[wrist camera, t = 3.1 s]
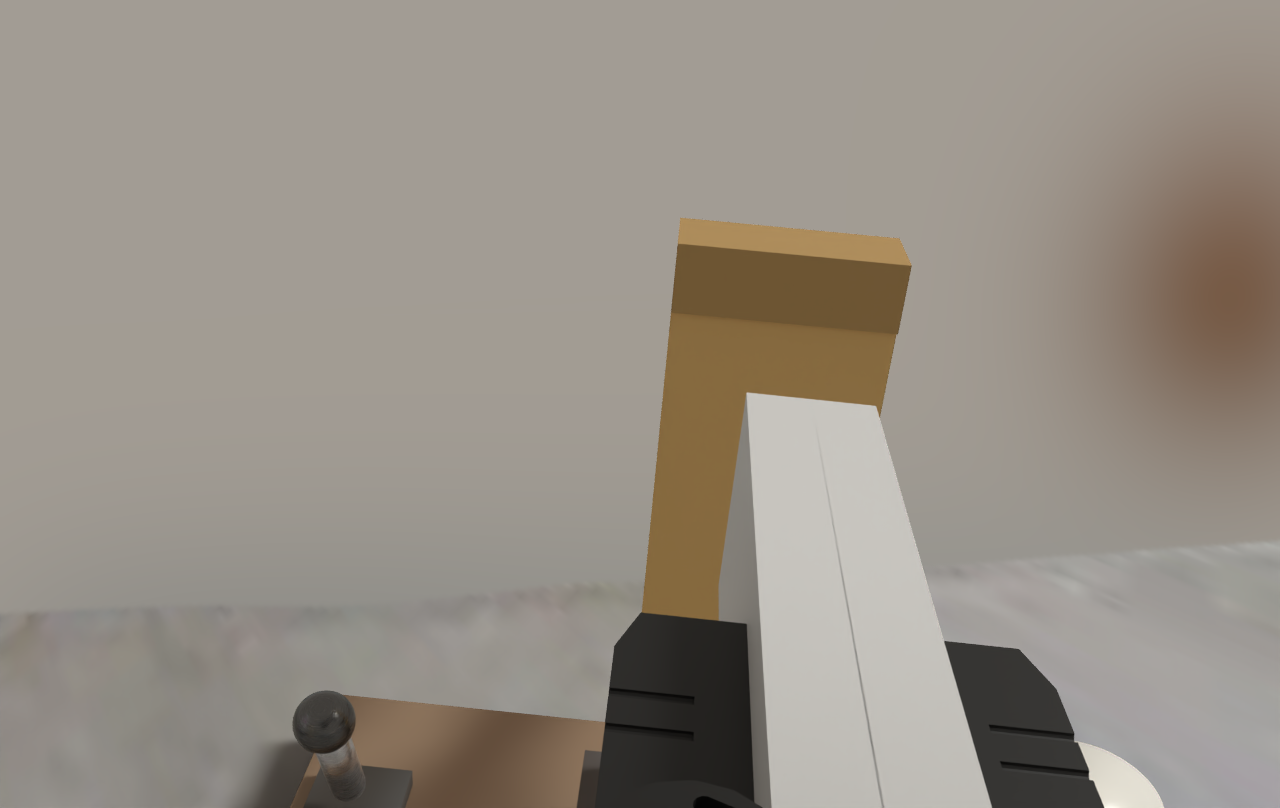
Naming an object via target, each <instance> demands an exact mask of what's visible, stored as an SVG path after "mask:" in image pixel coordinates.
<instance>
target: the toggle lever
mask: <svg viewBox="0 0 1280 808" xmlns="http://www.w3.org/2000/svg"><path fill="white" fill-rule="evenodd" d="M355 725H356V715H355V710H354V708H353V706H352V704H351V703H350V701H349V700H348V699H347V698H346V697H345V696H343V695H342V694H340V693H337V692H334V691H319V692H315V693H313V694H311V695H309V696H308V697H306V698H305V699H304V700H303V701H302V702H301V703H300V704H299V706H298V707H297V709H296V711H295V714H294V717H293V732H294V735H295V738H296V739H297V741H298V743H299V744H300V745H301V746H302V747H303V748H305V749H306V750H308V751H310V752H313V753H315V754H316V756H317V758H318V761H319V763H320V766H321V768H322V770H323V773H324V775H325V778H326V780H327V783H328V785H329V787H330V790H331V792H332V794H333V795H334V797H335V798H337V799H338V800H340V801H343V802H350V801H353V800H355V799H357V798H358V797H359V796H360V795H361V794H362V793H363V791H364V789H365V785H366V780H365V776H364V773H363V770H362V767H361V764H360V761H359V758H358V756H357V753H356V750H355V747H354V744H353V741H352V738H351V736H352V734H353V732H354V729H355Z"/></svg>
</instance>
